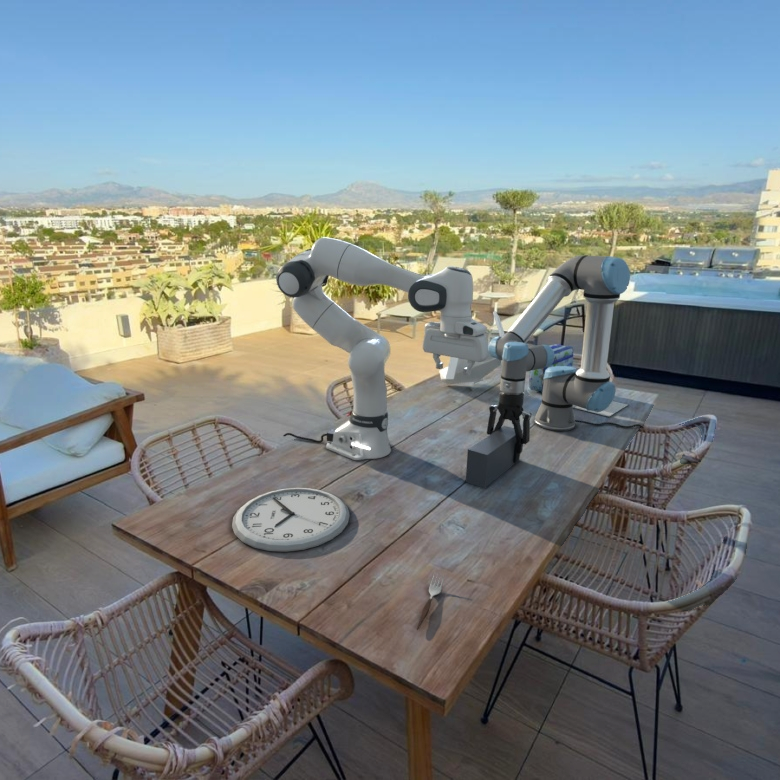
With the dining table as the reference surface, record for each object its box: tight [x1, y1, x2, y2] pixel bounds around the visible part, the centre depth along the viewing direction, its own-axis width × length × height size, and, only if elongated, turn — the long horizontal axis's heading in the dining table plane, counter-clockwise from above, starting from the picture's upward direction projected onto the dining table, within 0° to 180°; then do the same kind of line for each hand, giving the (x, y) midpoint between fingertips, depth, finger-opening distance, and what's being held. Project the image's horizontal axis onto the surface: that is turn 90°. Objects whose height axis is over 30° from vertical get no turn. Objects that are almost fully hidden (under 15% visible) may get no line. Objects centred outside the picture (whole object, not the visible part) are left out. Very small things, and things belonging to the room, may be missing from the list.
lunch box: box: [528, 344, 574, 393], centre depth 247 cm, size 26×11×21 cm, turn 134°
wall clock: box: [231, 487, 351, 553], centre depth 136 cm, size 30×2×30 cm
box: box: [465, 425, 521, 489], centre depth 164 cm, size 25×6×11 cm, turn 143°
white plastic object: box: [438, 310, 531, 397], centre depth 245 cm, size 37×45×31 cm
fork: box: [416, 572, 445, 631], centre depth 105 cm, size 3×16×2 cm, turn 160°
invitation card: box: [573, 400, 629, 418], centre depth 226 cm, size 21×1×15 cm
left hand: (452, 371), depth 154 cm, fingers open, 8 cm apart
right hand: (505, 458), depth 171 cm, fingers closed on box, 6 cm apart
